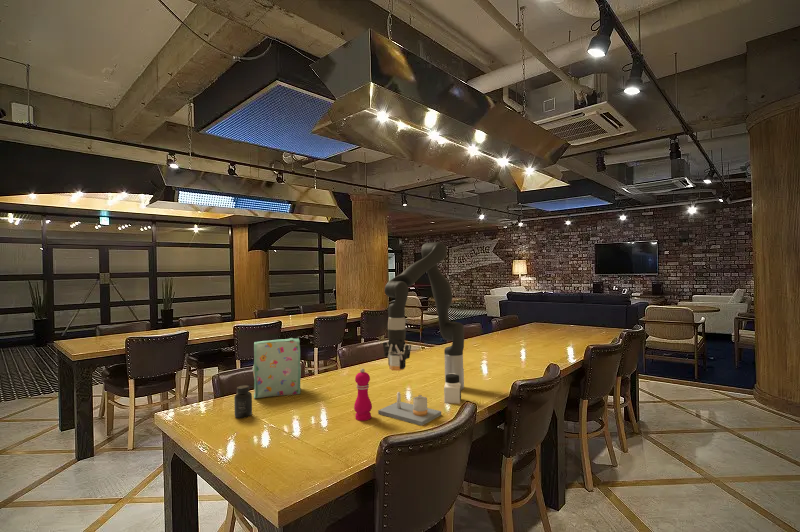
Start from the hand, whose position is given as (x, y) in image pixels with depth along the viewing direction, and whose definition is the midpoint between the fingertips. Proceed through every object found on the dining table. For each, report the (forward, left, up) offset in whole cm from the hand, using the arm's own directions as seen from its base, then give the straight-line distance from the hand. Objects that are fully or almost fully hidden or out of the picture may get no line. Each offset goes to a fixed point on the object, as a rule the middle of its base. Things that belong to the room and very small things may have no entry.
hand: (396, 367), depth 166 cm
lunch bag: (+15, -64, -18) cm, 68 cm away
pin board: (+1, +7, -18) cm, 19 cm away
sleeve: (0, 0, 0) cm, 0 cm away
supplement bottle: (+42, -49, -18) cm, 67 cm away
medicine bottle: (-24, +13, -18) cm, 33 cm away
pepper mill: (+15, -6, -18) cm, 24 cm away
